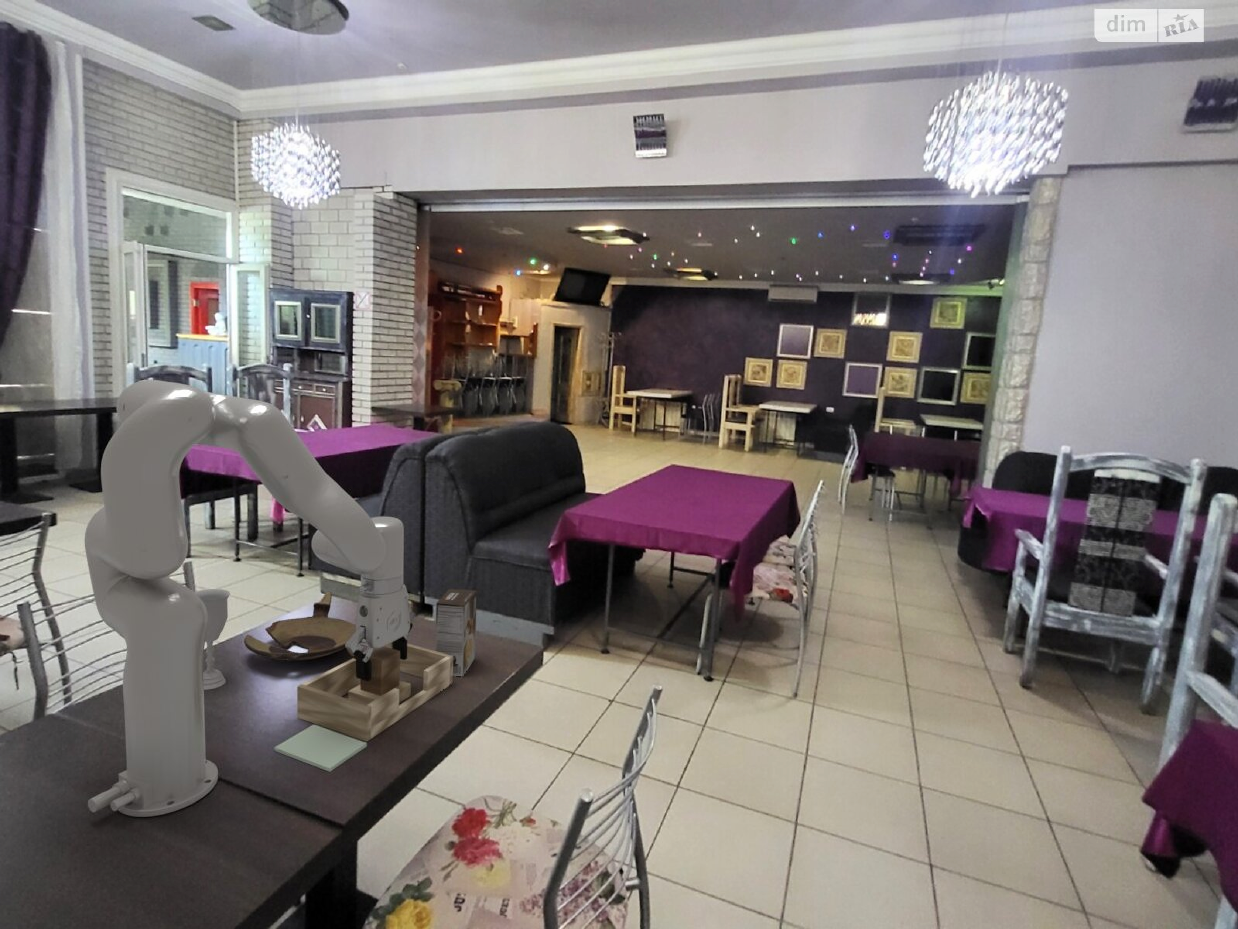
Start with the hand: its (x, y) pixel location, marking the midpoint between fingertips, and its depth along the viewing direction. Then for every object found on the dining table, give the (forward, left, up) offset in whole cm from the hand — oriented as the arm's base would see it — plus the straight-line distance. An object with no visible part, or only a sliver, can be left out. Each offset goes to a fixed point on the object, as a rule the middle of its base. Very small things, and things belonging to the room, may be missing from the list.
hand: (382, 668), depth 125 cm
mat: (-17, -3, -6) cm, 19 cm away
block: (0, 0, -4) cm, 4 cm away
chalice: (-11, +32, -7) cm, 35 cm away
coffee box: (+18, -4, -7) cm, 20 cm away
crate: (0, 0, -6) cm, 6 cm away
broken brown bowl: (+10, +28, -7) cm, 30 cm away
